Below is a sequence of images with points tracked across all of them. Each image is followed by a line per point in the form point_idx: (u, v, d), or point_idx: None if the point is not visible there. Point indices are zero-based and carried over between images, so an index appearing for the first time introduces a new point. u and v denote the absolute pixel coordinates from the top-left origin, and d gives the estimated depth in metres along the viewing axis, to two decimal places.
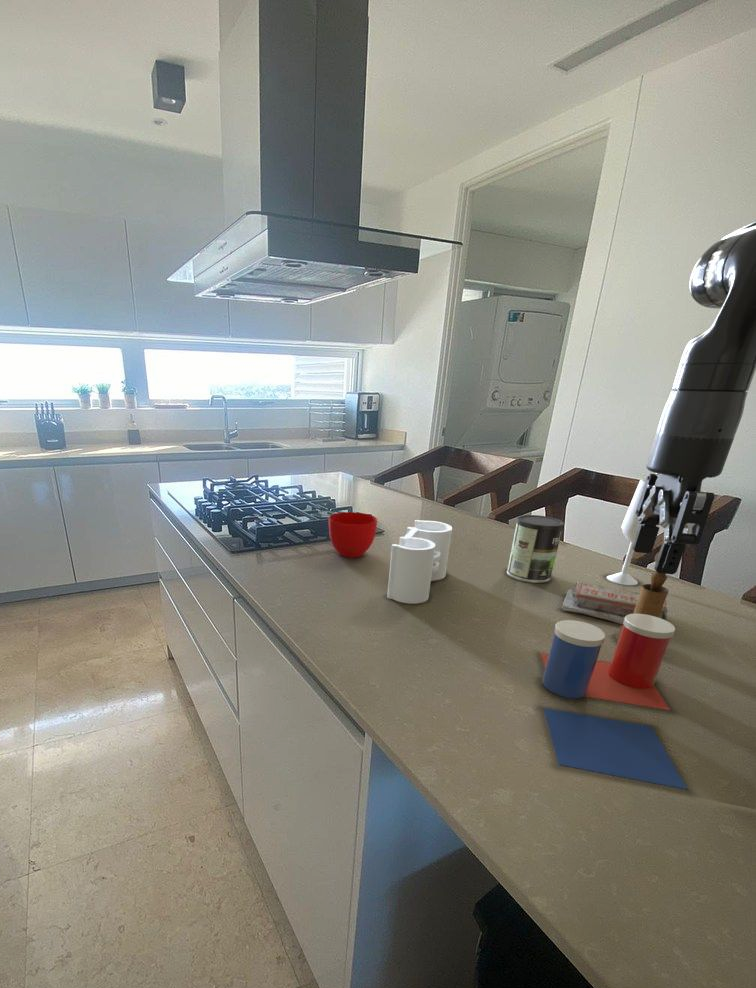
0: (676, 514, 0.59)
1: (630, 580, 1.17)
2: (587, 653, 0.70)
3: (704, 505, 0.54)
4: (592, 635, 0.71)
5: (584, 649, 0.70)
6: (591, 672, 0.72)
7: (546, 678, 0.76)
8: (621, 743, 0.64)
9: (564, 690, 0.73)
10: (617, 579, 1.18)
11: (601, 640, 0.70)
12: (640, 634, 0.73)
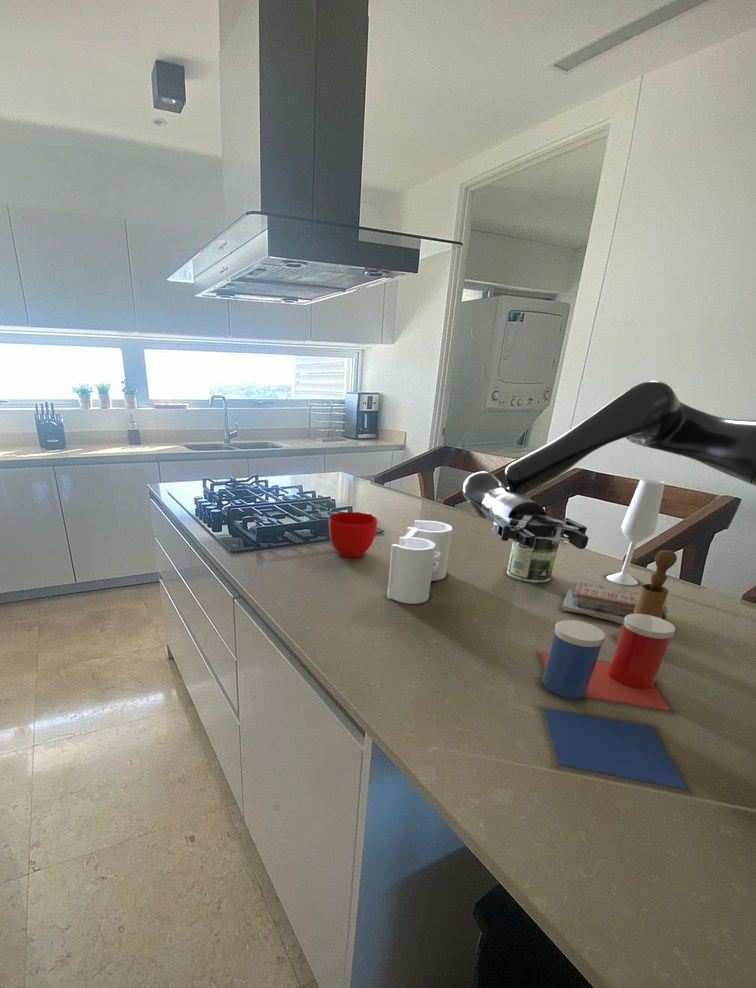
0: None
1: (630, 580, 1.17)
2: (587, 653, 0.70)
3: (495, 522, 0.85)
4: (592, 635, 0.71)
5: (584, 649, 0.70)
6: (591, 672, 0.72)
7: (546, 678, 0.76)
8: (621, 743, 0.64)
9: (564, 690, 0.73)
10: (617, 579, 1.18)
11: (601, 640, 0.70)
12: (640, 634, 0.73)
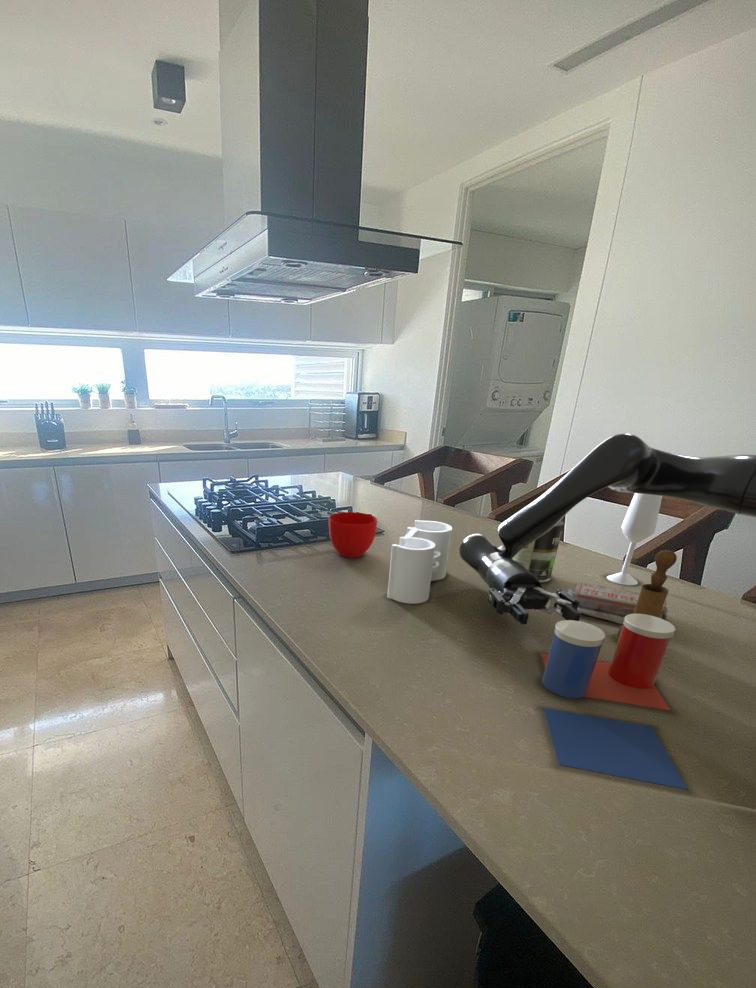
0: None
1: (630, 580, 1.17)
2: (587, 653, 0.70)
3: (490, 594, 0.88)
4: (592, 635, 0.71)
5: (584, 649, 0.70)
6: (591, 672, 0.72)
7: (546, 678, 0.76)
8: (621, 743, 0.64)
9: (564, 690, 0.73)
10: (617, 579, 1.18)
11: (601, 640, 0.70)
12: (640, 634, 0.73)
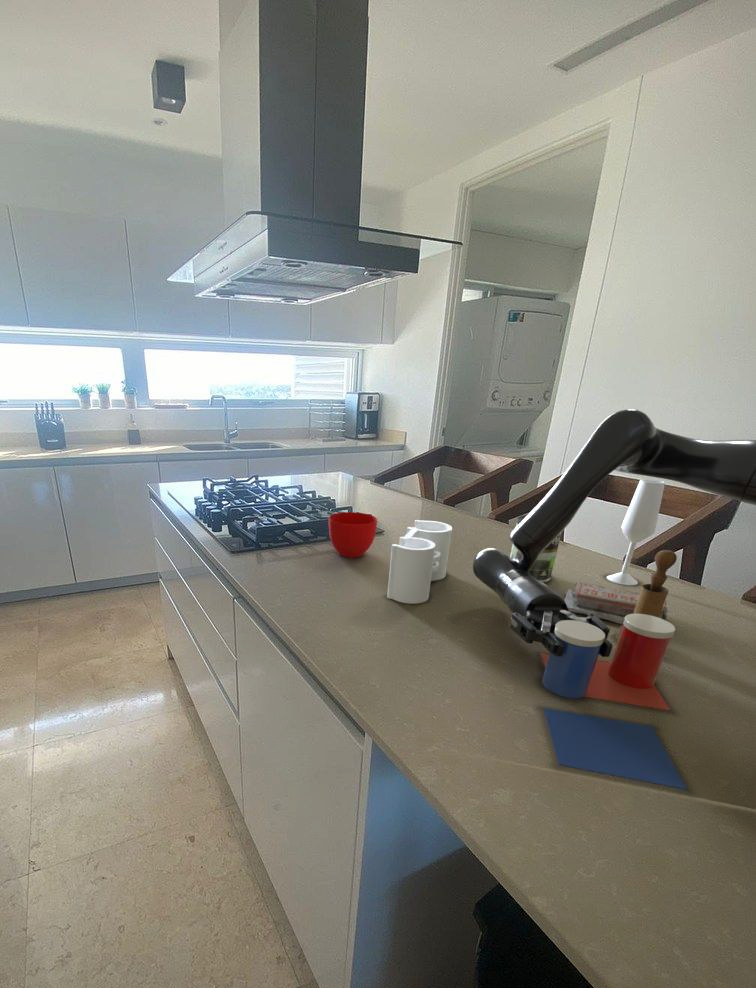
0: None
1: (630, 580, 1.17)
2: (587, 653, 0.70)
3: (514, 620, 0.79)
4: (592, 635, 0.71)
5: (584, 649, 0.70)
6: (591, 672, 0.72)
7: (546, 678, 0.75)
8: (621, 743, 0.64)
9: (564, 690, 0.73)
10: (617, 579, 1.18)
11: (601, 640, 0.70)
12: (640, 634, 0.73)
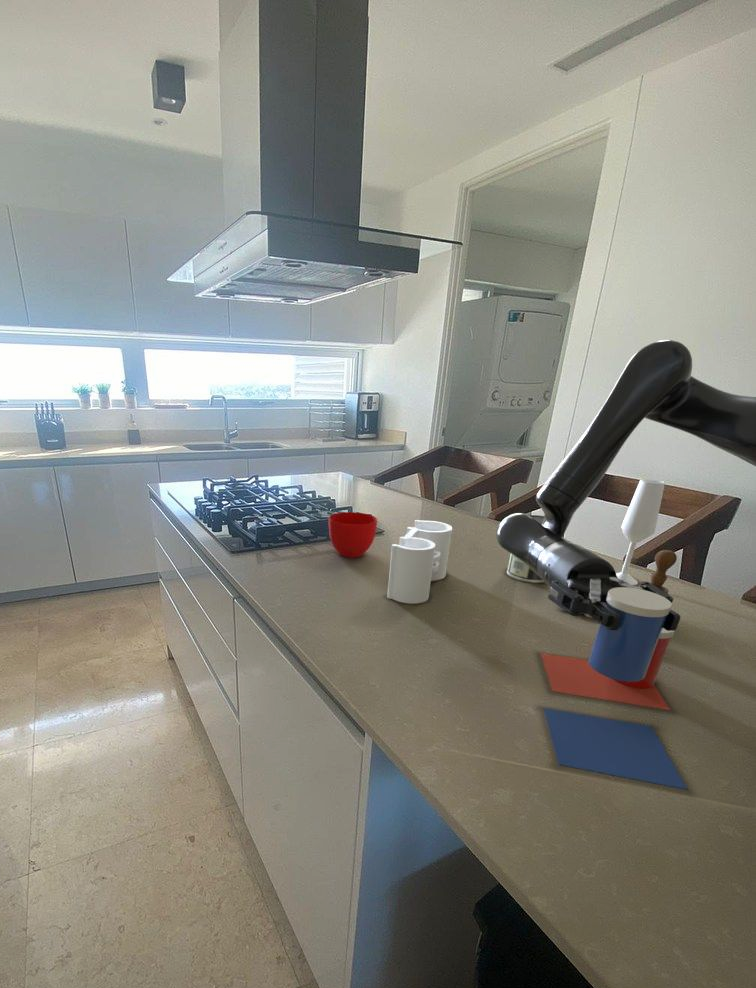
0: None
1: (630, 580, 1.17)
2: (650, 625, 0.57)
3: (554, 589, 0.65)
4: (656, 603, 0.57)
5: (646, 620, 0.57)
6: (653, 649, 0.59)
7: (595, 658, 0.62)
8: (621, 743, 0.64)
9: (619, 672, 0.60)
10: None
11: (668, 609, 0.56)
12: None
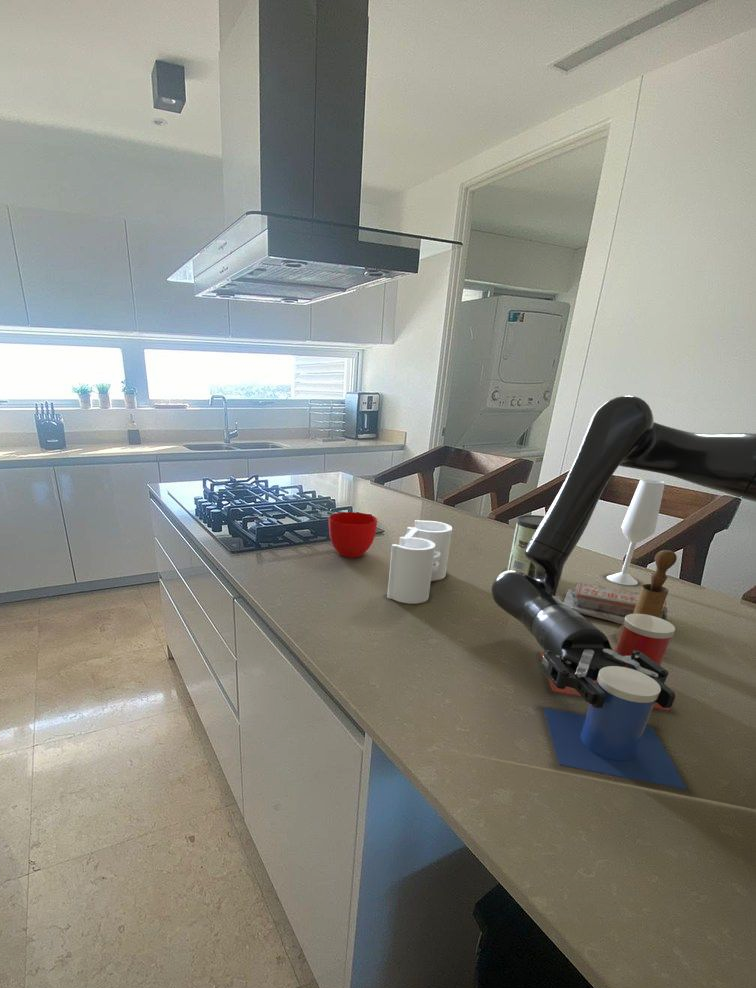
0: None
1: (630, 580, 1.17)
2: (640, 709, 0.58)
3: (546, 659, 0.67)
4: (645, 688, 0.59)
5: (635, 705, 0.58)
6: (642, 731, 0.60)
7: (586, 735, 0.63)
8: None
9: (609, 751, 0.61)
10: (617, 579, 1.18)
11: (657, 695, 0.58)
12: (640, 634, 0.73)
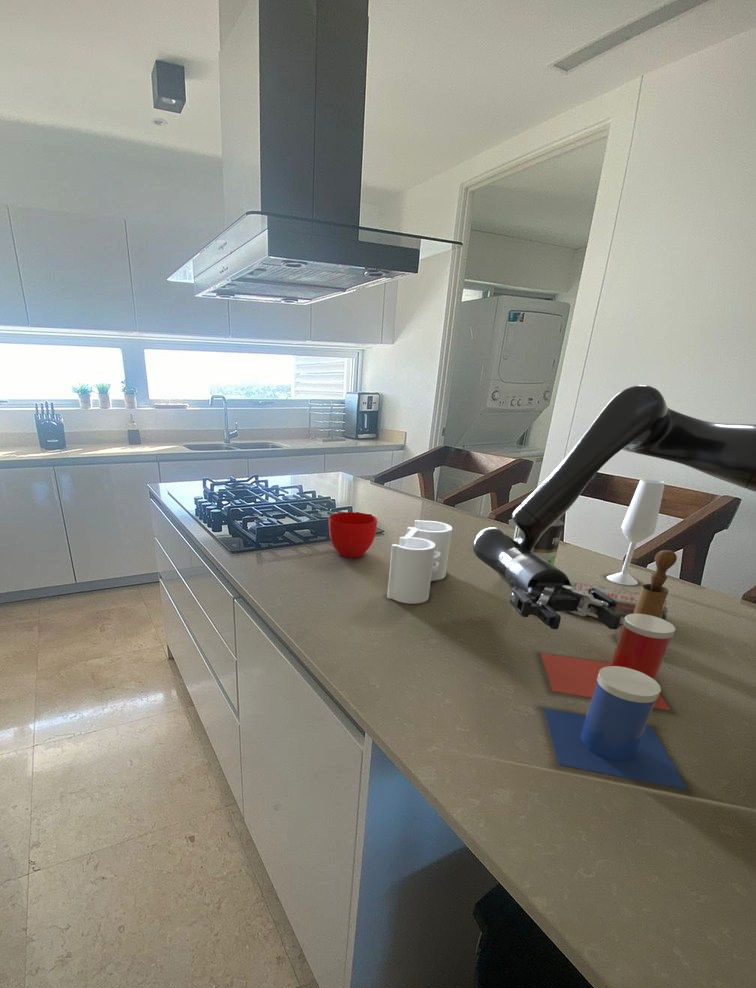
0: None
1: (630, 580, 1.17)
2: (640, 709, 0.58)
3: (513, 594, 0.77)
4: (645, 688, 0.59)
5: (635, 705, 0.58)
6: (642, 731, 0.60)
7: (586, 735, 0.63)
8: None
9: (609, 751, 0.61)
10: (617, 579, 1.18)
11: (657, 695, 0.58)
12: (640, 634, 0.73)
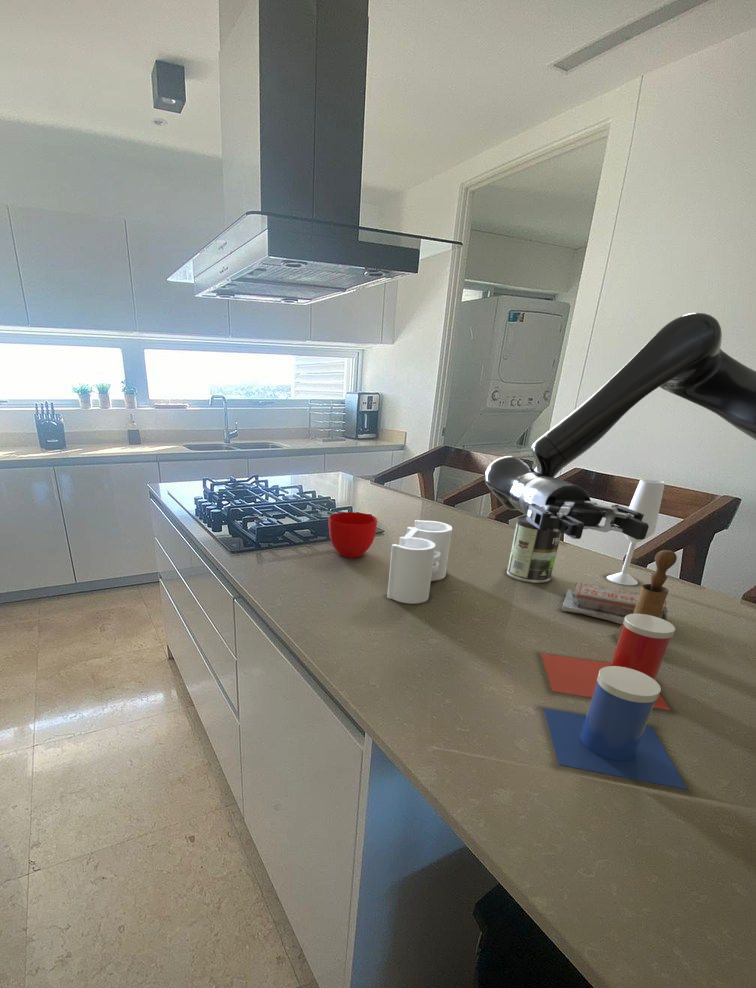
0: None
1: (630, 580, 1.17)
2: (640, 709, 0.58)
3: (530, 510, 0.71)
4: (645, 688, 0.59)
5: (635, 705, 0.58)
6: (642, 731, 0.60)
7: (586, 735, 0.63)
8: None
9: (609, 751, 0.61)
10: (617, 579, 1.18)
11: (657, 695, 0.58)
12: (640, 634, 0.73)
